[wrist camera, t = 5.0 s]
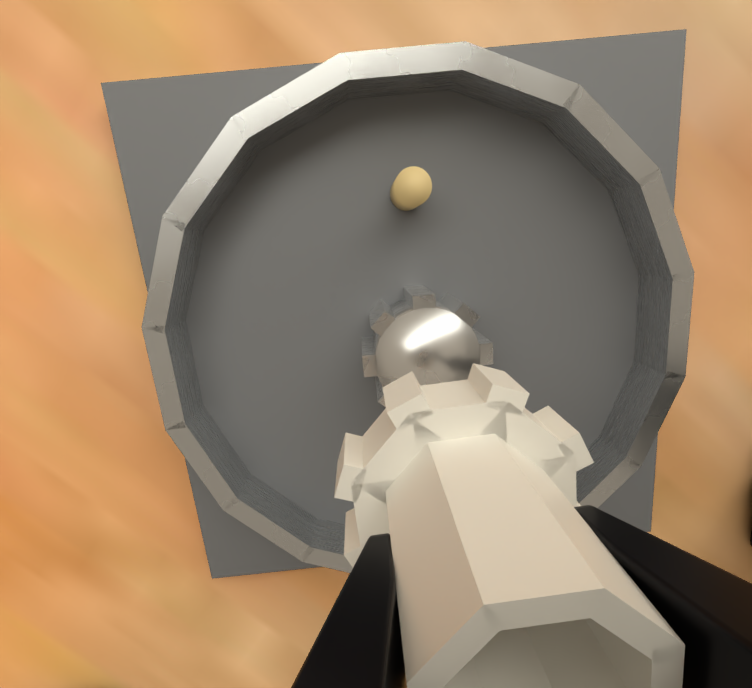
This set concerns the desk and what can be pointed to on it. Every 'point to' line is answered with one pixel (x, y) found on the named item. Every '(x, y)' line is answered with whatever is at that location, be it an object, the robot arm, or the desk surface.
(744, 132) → the desk surface
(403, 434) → the gear
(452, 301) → the sun gear
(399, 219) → the tray
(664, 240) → the grey flat ring
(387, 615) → the robot arm
